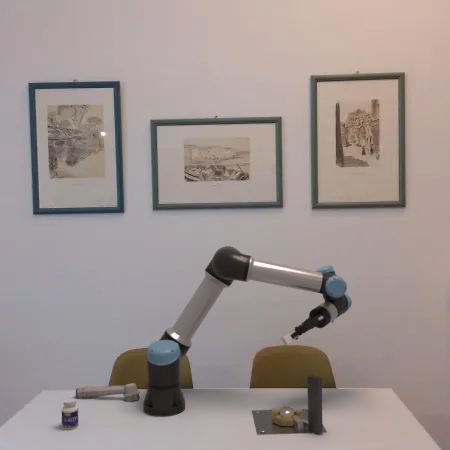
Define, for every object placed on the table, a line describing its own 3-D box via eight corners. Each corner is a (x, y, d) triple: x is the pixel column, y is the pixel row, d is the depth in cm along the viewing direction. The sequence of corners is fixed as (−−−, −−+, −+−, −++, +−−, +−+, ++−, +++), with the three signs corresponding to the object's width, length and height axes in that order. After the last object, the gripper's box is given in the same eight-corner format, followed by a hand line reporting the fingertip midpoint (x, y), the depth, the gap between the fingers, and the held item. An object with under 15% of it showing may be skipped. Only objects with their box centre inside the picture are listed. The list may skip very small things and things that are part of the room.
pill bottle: (63, 431, 162) (62, 404, 162) (60, 425, 167) (60, 399, 167) (80, 428, 165) (79, 401, 165) (76, 422, 170) (76, 396, 170)
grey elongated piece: (80, 385, 197) (139, 379, 193) (82, 402, 197) (142, 396, 193) (73, 389, 192) (135, 383, 188) (76, 407, 192) (137, 401, 188)
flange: (257, 440, 153) (257, 425, 153) (251, 413, 175) (251, 400, 175) (328, 438, 154) (328, 423, 154) (313, 411, 176) (313, 398, 176)
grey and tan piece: (265, 419, 166) (264, 368, 166) (286, 411, 173) (285, 362, 172) (309, 437, 152) (308, 381, 151) (330, 428, 158) (329, 375, 158)
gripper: (340, 317, 181) (302, 345, 165) (317, 329, 190) (278, 356, 174) (328, 299, 182) (289, 325, 167) (306, 312, 192) (267, 338, 176)
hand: (284, 341), depth 170 cm, fingers closed
